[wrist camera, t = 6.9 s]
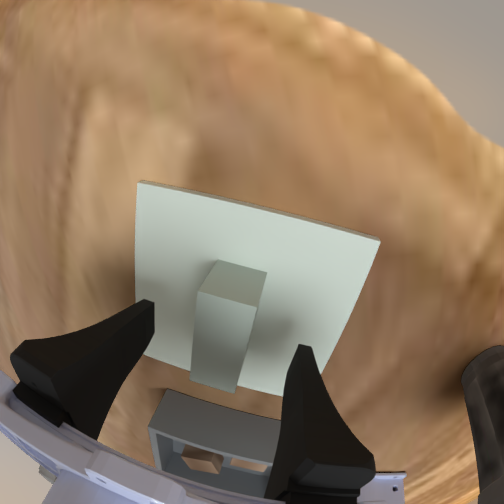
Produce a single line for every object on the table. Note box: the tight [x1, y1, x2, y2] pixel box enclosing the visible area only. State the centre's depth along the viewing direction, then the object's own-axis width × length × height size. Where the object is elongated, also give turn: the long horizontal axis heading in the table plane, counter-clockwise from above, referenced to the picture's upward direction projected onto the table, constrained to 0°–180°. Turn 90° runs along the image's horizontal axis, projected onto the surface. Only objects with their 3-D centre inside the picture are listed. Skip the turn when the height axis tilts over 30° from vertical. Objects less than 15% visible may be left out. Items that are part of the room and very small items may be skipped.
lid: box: [135, 180, 380, 396], centre depth 15 cm, size 12×12×4 cm
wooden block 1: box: [181, 444, 224, 474], centre depth 23 cm, size 3×3×2 cm
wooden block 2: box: [230, 458, 268, 472], centre depth 21 cm, size 3×3×2 cm
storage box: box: [148, 388, 281, 498], centre depth 21 cm, size 12×12×4 cm
